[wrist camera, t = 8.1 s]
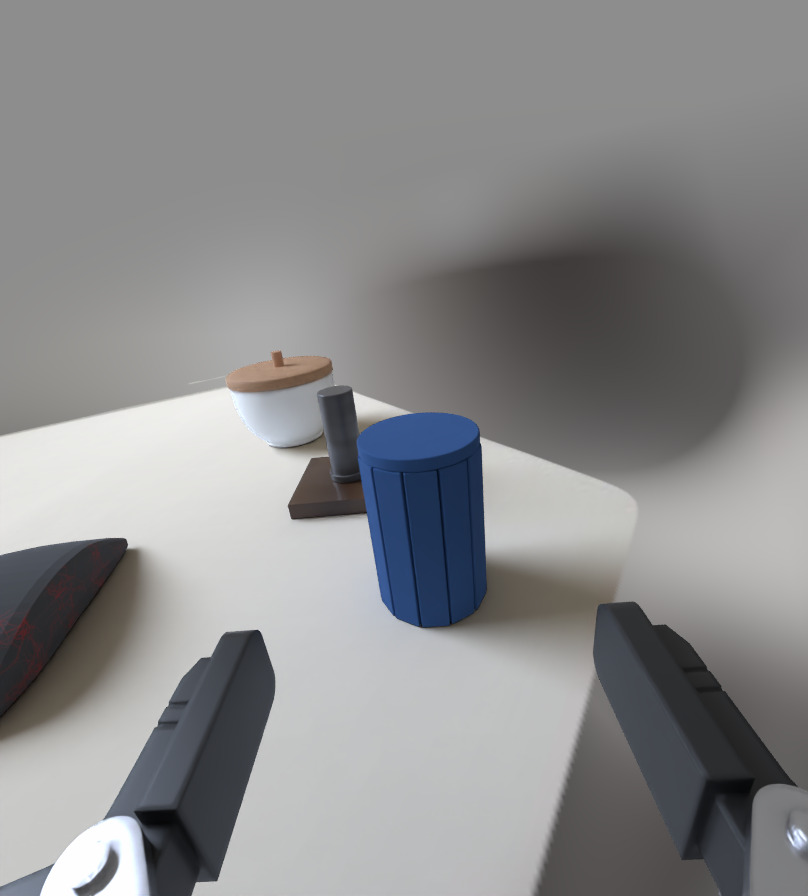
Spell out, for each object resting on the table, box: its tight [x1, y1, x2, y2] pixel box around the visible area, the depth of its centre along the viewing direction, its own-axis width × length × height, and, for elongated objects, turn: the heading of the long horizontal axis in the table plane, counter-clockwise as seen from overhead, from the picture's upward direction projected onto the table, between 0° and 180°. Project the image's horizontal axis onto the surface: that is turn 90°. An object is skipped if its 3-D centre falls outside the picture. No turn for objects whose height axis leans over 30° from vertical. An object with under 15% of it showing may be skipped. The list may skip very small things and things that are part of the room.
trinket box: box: [226, 351, 334, 447], centre depth 44 cm, size 11×11×9 cm
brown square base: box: [288, 386, 367, 519], centre depth 32 cm, size 8×8×8 cm
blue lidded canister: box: [357, 413, 487, 627], centre depth 21 cm, size 6×6×9 cm
